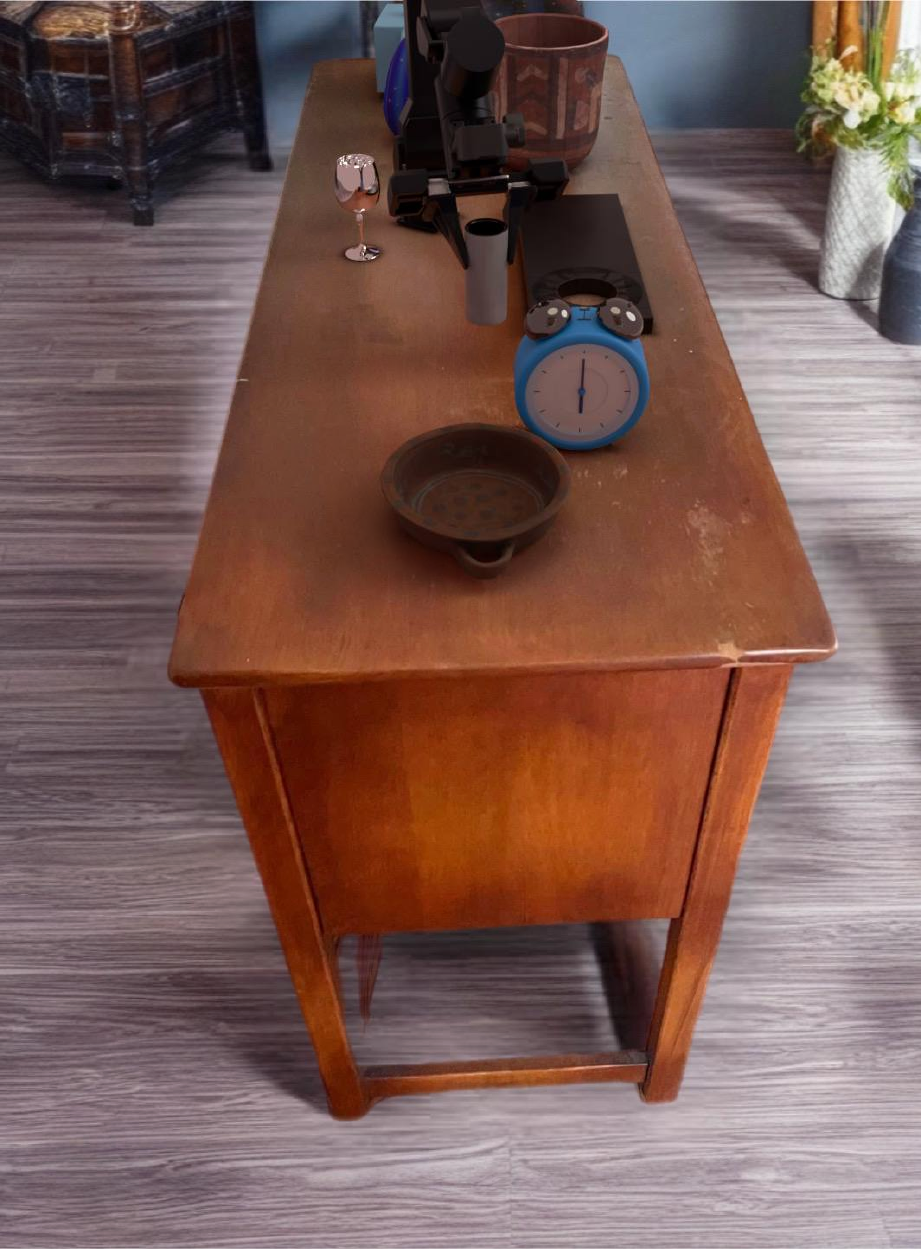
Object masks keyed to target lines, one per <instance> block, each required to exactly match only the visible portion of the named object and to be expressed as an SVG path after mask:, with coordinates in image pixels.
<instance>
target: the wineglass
mask: <svg viewBox="0 0 921 1249" xmlns="http://www.w3.org/2000/svg"><path fill="white" fill-rule="evenodd" d="M333 188H334V195H335V199H336V201H337V203H338V204H339V206H340V207H341V208H342V209H344V210H346V211H348V212H350V213H354V214H356V215H355V223H356V225H357V229H358V235H359V236H358V237H359V238H358V239H359V243H358V245H355V246H352V247H349V248H348V249H346V251H345V252H344V253H345V254H344V255H345V257H346V258H347V259H349V260H351V261H358V262H363V261H364V262H365V261H370V260H373V259H375V258H377V257H379V255H380V250H379V249H378V248H377V247H375V246H373V245H367V244H365V242H364V234H363V232H364V231H363V228H364V222H365V221H364V220H365V219H364V215H363V214H362V213H366V212H369V211H370V210H372V209H374V208H375V207H376V206H377V204H378V202H379V200H380V197H381V180H380V175H379V171H378V168H377V164H376V161H375V159H374V157H373V156H371V155H368V154H364V153H351V154H345V155H343V156H340V157H339V158H338V159H336V163H335V169H334V182H333Z"/></svg>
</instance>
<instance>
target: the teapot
mask: <svg viewBox="0 0 921 1249" xmlns="http://www.w3.org/2000/svg"><path fill="white" fill-rule="evenodd" d="M404 38H405V26H404V9H403V3H386V5H385V7H384V8H383V9H382V11H381V12H380V14H379V16H378V18H377V20H376V22H375V23H374V26H373V43H374V44H373V46H374V60H375V77H376V92H377V93H384V89H385V86H386V79H387V73H388V70H389V67H390V62H391V60H392V57H393V55H394V53H395V51H396V49H397V47H398V45H399V44H400V42H401V41H402V40H403V39H404ZM441 68H442V63H441Z"/></svg>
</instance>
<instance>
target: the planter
mask: <svg viewBox="0 0 921 1249" xmlns="http://www.w3.org/2000/svg"><path fill="white" fill-rule="evenodd" d="M463 232H464V234H463V237H464V241H465V246H466V250H467V256H468V265H469V266H468V269H467V270H464V305H465V306H464V310H465V312H464V313H465V319H466V321H467V322H469V323H470V324H471V325H474V326H478V327H493V326H498V325H500V324H502V323H503V322H505V321H506V320H507V314H508V226H507V224H506V223H505V222H503V220H501V219H498V218H493V217H480V218H475V219H472V220H469V221H468V222H466V224H465V225H464V230H463Z"/></svg>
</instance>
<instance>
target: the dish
mask: <svg viewBox="0 0 921 1249" xmlns="http://www.w3.org/2000/svg"><path fill="white" fill-rule="evenodd" d="M379 477H380V478H379V480H380V483H379V484H380V489H381V492H382V493H383V496H384V498H385V500H386V501H387V503H388V504H389V505H390V507H391V508H392V509H393V510H394V512H395V514H396V516H397V518H398V520H399V522H400V523H401V525H402V527H403V528H404V529H405V530H406V532H407V533H408V534H409V535H410V536H411V537H413V538H414V539H415V540H416V541H418V542H420V543H421V544H422V545H424V546H426V547H428V548H430V549H432V550H435V551H437V552H439V553H443V554H444V555H445V554H446V555H449V556H451V557H455V558H456V560H457V562H458V564H459V566H460V568H461V569H462V570H463V571H464V572H465V573H466V574H467V575H469V576H470V577H472V578H475V579H477V580H478V579H479V580H490V579H491V580H492V579H495V578H497V577H500V576H501V575H503V574H504V572H505V571H506V570H507V569H508V567H509V565H510V562H511V559H512V557H513V554H515V553H518V552H521V551H524V550H526V549H528V548H529V547H531V546H533V545H534V544H536V543H537V542H538V541H540V539H542V538H543V537H544V536H545V535H546V534H547V532H548V531H549V529H551V527H552V525H553V524H554V522H555V519H556V517H557V515H558V512H559V510H560V509H561V508H562V507H563V505H564V504H565V503H566V501H567V499H568V497H569V495H570V492H571V488H572V474H571V470H570V466H569V464H568V463H567V461H566V459H565V458H564V456H563V455H562V454H561V453H560V452H559V450H558V449H557V448H556V447H555V446H552V445H550V444H549V443H547V442H546V441H544V440H543V439H542V438H540V437H538V436H536V435H534V434H533V433H531V432H530V431H527V430H525V429H521V428H516V427H513V426H512V427H511V426H506V425H502V424H492V423H484V422H463V423H456V424H451V425H446V426H442V427H441V426H440V427H437V428H433V429H431V430H428V431H426V432H423V433H421V434H418V435H416V436H414V437H413V438H412V437H411V438H410V439H408V440H407V441H405V442H404V443H402V444H401V445H399V447H397V448H396V449H395V450H394V451H393V452H392V453H391V455H390V456H389V457H388V458H387V459H386V461H385V462H384V465H383V468H382V469H381V473H380V476H379ZM490 559H497V560H495V561H490V562H483V561H482V562H481V561H478V560H490Z"/></svg>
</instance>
